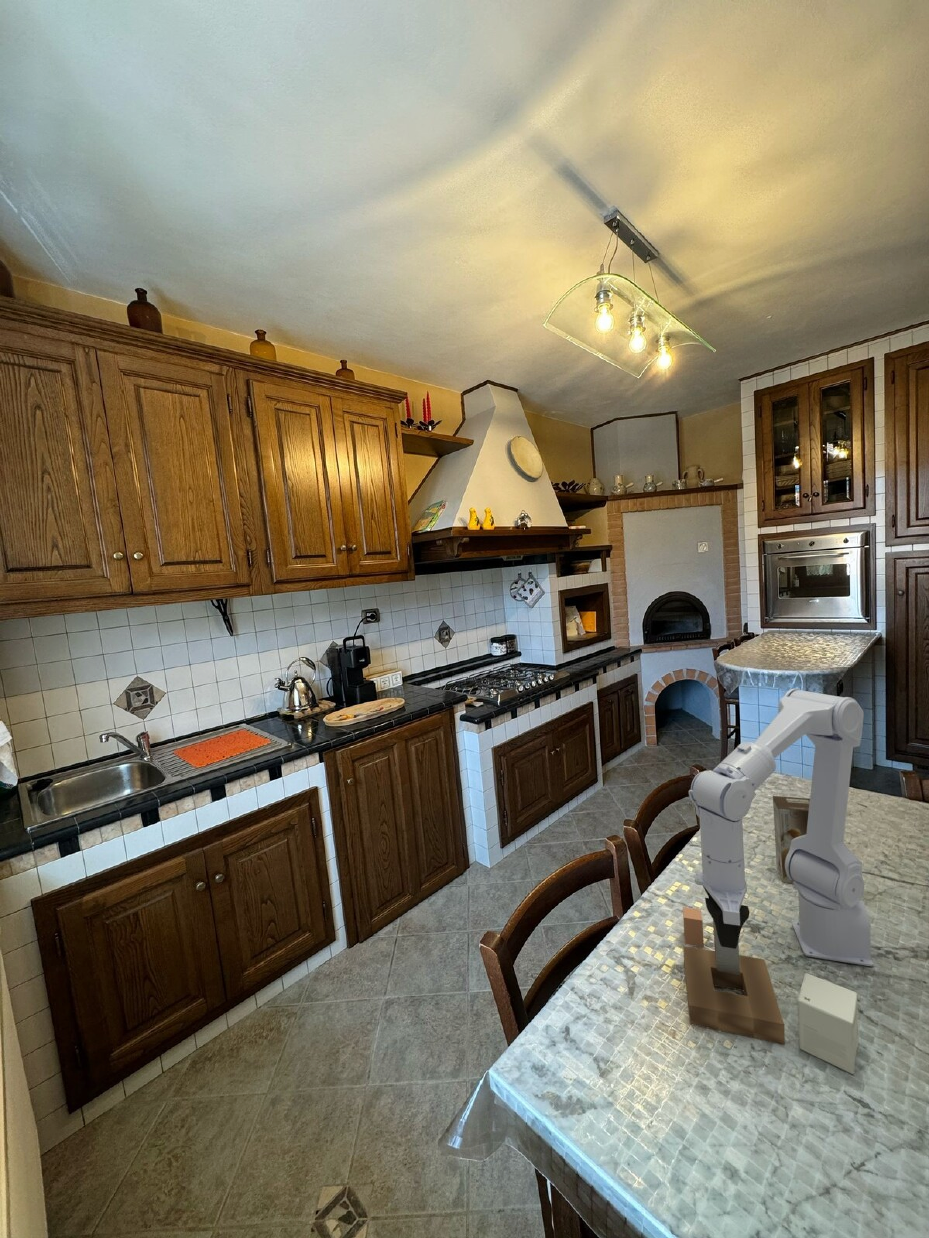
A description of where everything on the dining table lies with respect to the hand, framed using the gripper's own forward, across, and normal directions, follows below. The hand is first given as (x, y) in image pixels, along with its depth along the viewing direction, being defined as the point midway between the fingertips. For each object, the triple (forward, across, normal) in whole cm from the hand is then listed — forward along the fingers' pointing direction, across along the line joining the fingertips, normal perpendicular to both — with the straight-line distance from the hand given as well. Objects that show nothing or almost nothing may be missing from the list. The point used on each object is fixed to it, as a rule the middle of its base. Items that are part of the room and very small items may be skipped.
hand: (726, 937), depth 75 cm
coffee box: (+10, -36, +19) cm, 42 cm away
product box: (+10, +5, +12) cm, 16 cm away
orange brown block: (+10, -12, -4) cm, 16 cm away
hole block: (+10, 0, 0) cm, 10 cm away
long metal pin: (+5, 0, 0) cm, 5 cm away
